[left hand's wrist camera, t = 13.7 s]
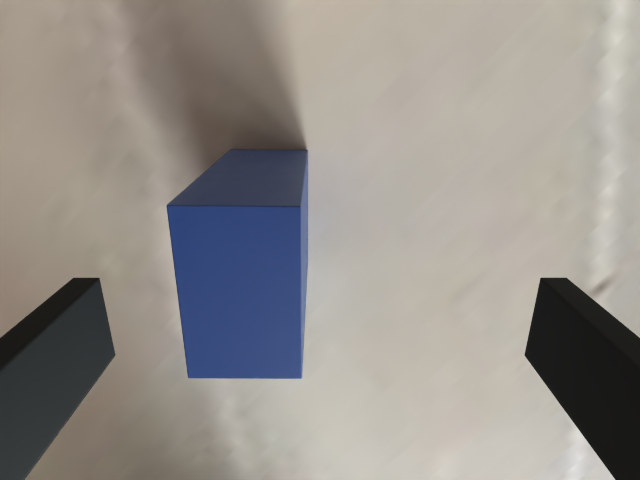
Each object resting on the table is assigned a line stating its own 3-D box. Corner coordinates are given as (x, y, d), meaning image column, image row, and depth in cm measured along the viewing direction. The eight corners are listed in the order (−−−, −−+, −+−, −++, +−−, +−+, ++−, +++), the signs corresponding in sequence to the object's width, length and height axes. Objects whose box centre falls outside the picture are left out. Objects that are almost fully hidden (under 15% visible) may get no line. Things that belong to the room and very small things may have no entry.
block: (230, 149, 26) (165, 204, 15) (307, 149, 26) (300, 206, 15) (237, 261, 29) (187, 378, 18) (307, 261, 29) (301, 379, 18)
